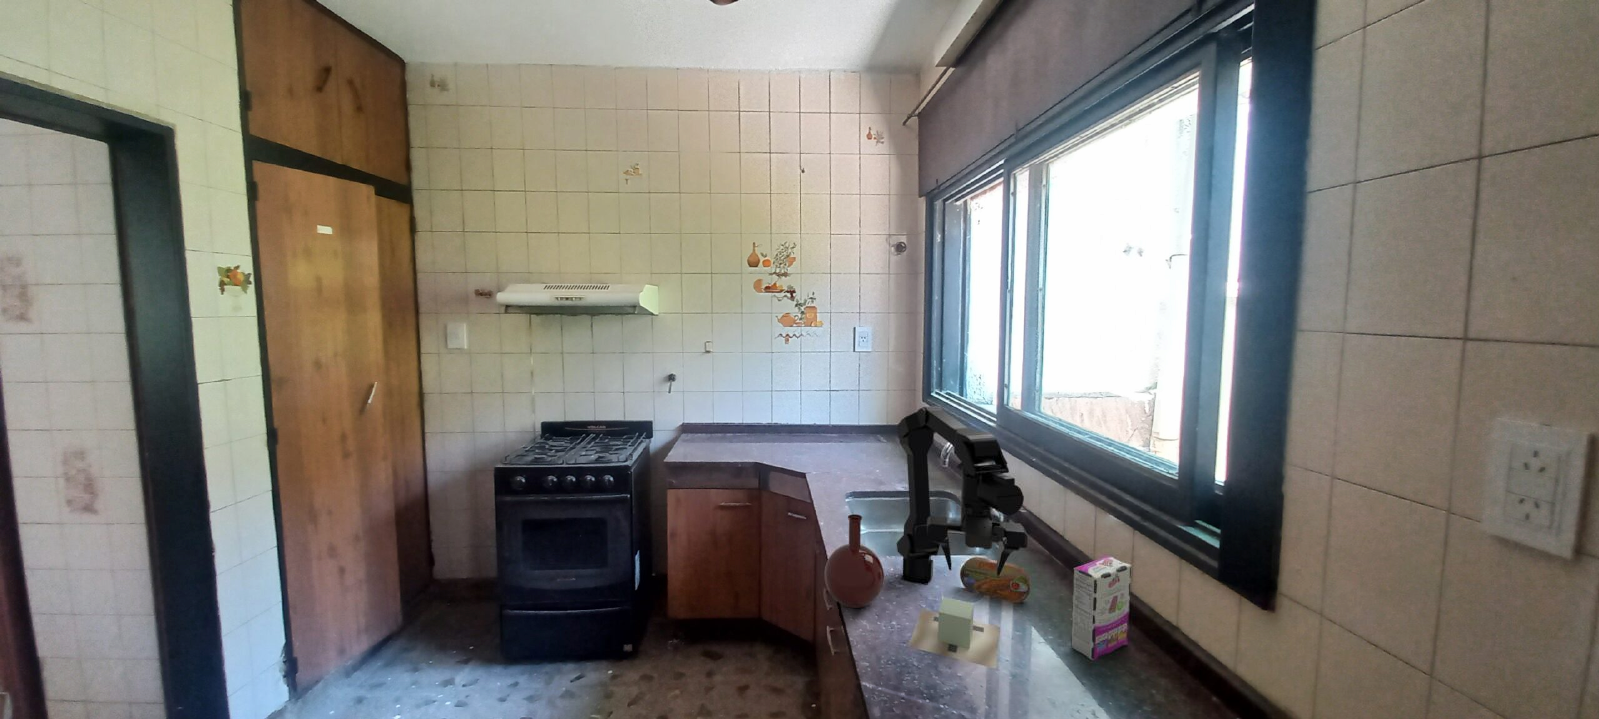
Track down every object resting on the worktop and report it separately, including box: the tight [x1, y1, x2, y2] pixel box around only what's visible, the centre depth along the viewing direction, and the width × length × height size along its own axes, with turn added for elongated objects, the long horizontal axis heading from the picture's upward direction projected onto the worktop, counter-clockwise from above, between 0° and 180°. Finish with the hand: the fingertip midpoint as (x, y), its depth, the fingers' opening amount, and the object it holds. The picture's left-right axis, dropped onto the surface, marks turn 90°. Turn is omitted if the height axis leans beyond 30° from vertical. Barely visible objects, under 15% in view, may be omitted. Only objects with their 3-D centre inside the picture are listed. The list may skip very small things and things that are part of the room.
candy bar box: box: [1070, 555, 1132, 661], centre depth 103 cm, size 11×5×16 cm, turn 117°
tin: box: [959, 556, 1031, 604], centre depth 121 cm, size 15×3×8 cm, turn 62°
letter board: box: [908, 608, 1001, 669], centre depth 106 cm, size 16×14×1 cm
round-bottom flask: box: [824, 513, 885, 609], centre depth 118 cm, size 13×13×20 cm
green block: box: [938, 596, 975, 649], centre depth 106 cm, size 6×6×6 cm
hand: (973, 572), depth 107 cm, fingers open, 9 cm apart
